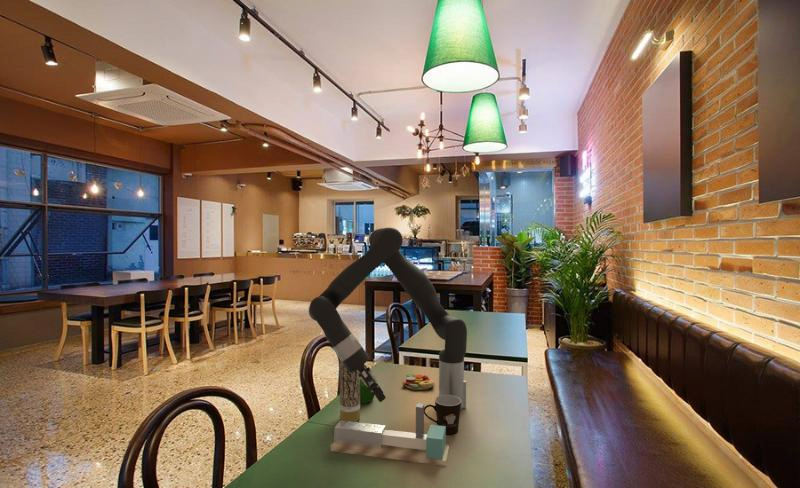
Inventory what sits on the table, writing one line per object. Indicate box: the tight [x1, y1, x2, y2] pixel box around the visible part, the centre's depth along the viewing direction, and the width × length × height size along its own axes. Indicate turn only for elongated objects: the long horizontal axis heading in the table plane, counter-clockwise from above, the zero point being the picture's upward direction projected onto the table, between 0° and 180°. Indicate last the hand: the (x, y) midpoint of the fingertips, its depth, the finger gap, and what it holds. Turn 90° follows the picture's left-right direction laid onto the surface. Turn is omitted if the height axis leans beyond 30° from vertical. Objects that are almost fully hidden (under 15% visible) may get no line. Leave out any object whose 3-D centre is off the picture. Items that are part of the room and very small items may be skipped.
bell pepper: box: [360, 379, 375, 404], centre depth 151 cm, size 8×8×10 cm
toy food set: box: [402, 373, 435, 391], centre depth 167 cm, size 13×13×3 cm
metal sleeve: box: [333, 419, 386, 449], centre depth 118 cm, size 14×5×5 cm, turn 77°
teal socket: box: [426, 424, 447, 460], centre depth 112 cm, size 4×8×6 cm, turn 166°
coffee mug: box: [424, 395, 462, 437], centre depth 128 cm, size 12×9×10 cm
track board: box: [330, 441, 450, 467], centre depth 116 cm, size 34×8×2 cm, turn 77°
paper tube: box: [339, 359, 361, 422], centre depth 135 cm, size 7×7×25 cm
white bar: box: [382, 403, 428, 450], centre depth 114 cm, size 19×3×12 cm, turn 77°
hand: (382, 397), depth 119 cm, fingers open, 8 cm apart
